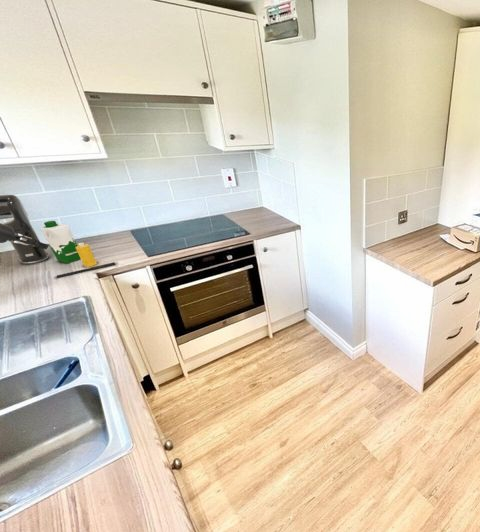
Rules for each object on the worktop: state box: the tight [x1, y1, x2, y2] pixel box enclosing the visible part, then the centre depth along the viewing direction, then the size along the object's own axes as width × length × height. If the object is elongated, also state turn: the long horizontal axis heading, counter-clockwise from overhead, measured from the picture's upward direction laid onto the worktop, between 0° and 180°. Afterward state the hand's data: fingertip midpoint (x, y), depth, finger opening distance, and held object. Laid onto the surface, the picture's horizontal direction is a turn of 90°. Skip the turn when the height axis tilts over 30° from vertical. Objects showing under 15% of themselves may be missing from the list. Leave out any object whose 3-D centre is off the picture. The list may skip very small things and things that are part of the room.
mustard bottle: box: [75, 242, 98, 268], centre depth 157 cm, size 5×5×12 cm
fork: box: [56, 261, 116, 279], centre depth 155 cm, size 3×21×1 cm, turn 133°
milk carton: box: [39, 220, 81, 264], centre depth 160 cm, size 9×9×20 cm
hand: (40, 245), depth 142 cm, fingers open, 8 cm apart
